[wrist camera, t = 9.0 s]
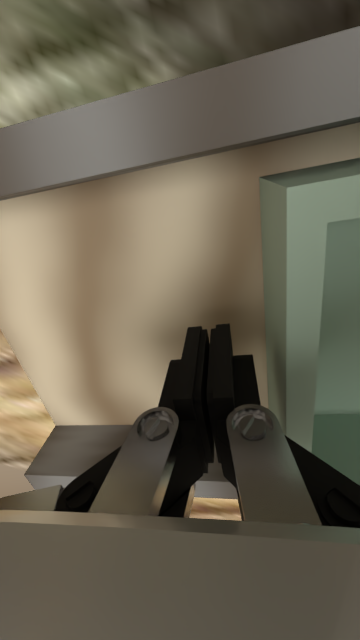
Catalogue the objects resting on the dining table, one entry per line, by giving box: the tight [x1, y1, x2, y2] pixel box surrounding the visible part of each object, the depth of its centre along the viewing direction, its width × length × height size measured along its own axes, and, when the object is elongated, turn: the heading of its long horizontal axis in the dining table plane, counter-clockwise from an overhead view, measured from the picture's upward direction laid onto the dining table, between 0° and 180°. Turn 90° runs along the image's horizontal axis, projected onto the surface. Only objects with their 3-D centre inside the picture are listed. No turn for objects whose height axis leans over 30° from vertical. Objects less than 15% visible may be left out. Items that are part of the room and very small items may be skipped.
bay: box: [0, 26, 360, 499], centre depth 11 cm, size 26×17×6 cm, turn 100°
